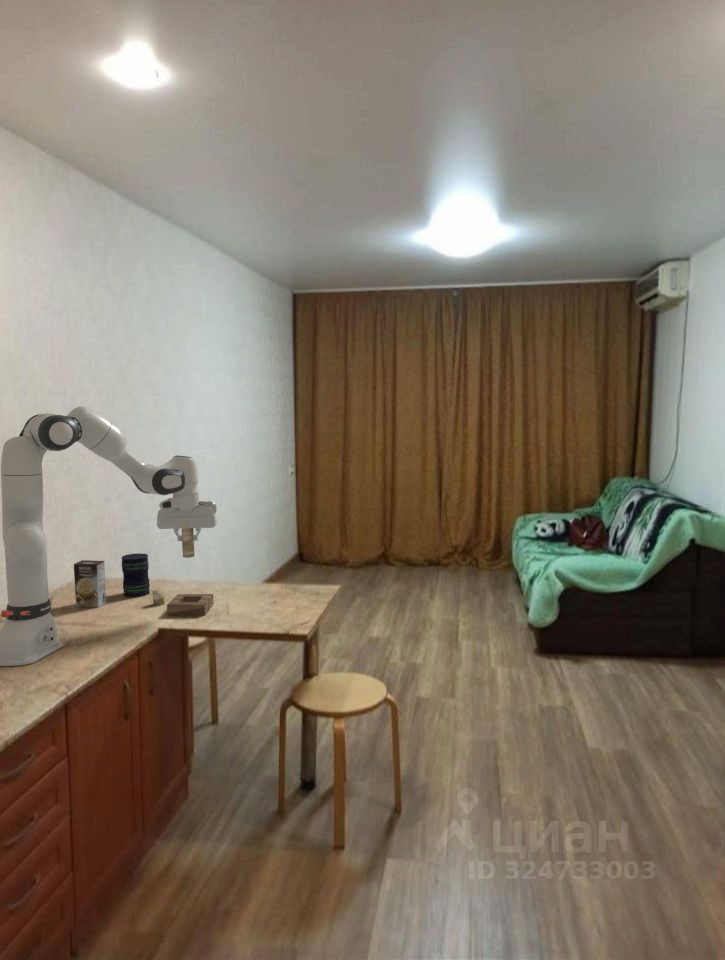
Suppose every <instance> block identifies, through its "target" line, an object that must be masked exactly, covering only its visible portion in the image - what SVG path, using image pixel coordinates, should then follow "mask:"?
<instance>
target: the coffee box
mask: <svg viewBox="0 0 725 960" xmlns="http://www.w3.org/2000/svg"><path fill="white" fill-rule="evenodd" d="M105 569H106V568H105V560H91V559H90V560H88V559H87V560H86V559H85V560H84V559H81V560H79V561H77V562H75V563H73V574H74V575H73V576H74V593H75V595H74V596H75V607H76V608H100V607H102V606H103V605H105V604H106V603H107V592H106V572H105V571H106V570H105Z"/></svg>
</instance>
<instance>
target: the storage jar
mask: <svg viewBox="0 0 725 960" xmlns="http://www.w3.org/2000/svg"><path fill="white" fill-rule="evenodd" d="M149 564H150V563H149V555H148V554H147V553H143V552H141V553H138V552H137V553H128V554H125V555H124V554H123V555H122V556H121V570H122V575H123V576H122V578H123V580H122V588H123V589H122V590H123V596H124V597H126V598H141V597H146V596H148V595H149V594H150V593H151V590H150V586H151V585H150V578H149V569H150V568H149Z"/></svg>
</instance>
